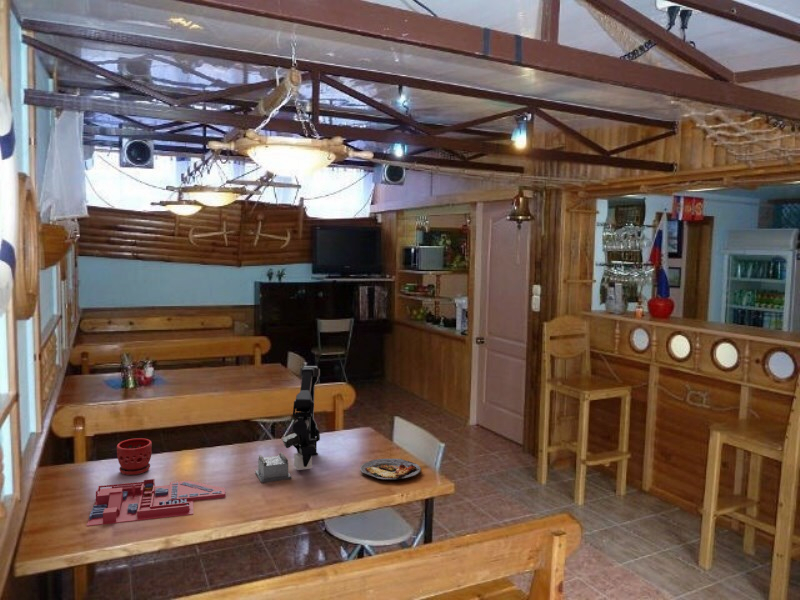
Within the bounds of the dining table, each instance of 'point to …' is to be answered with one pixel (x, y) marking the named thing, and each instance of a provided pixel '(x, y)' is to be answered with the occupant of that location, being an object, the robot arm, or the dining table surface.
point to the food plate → (390, 469)
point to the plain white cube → (301, 462)
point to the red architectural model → (148, 501)
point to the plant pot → (134, 456)
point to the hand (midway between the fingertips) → (303, 464)
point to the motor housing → (272, 468)
